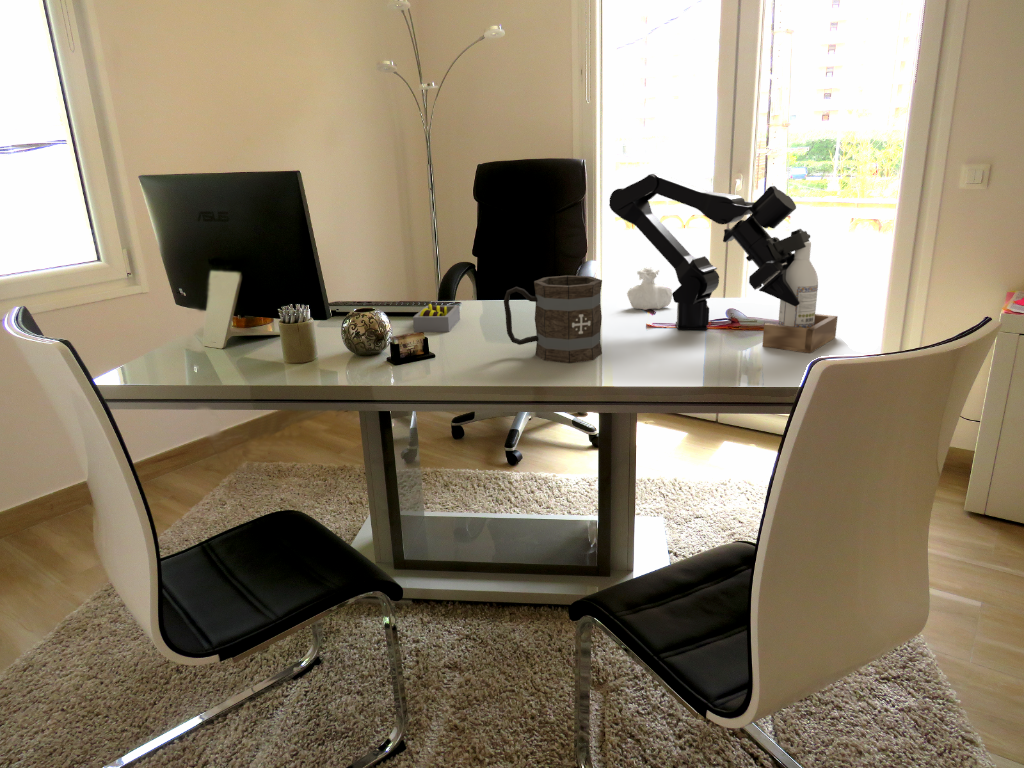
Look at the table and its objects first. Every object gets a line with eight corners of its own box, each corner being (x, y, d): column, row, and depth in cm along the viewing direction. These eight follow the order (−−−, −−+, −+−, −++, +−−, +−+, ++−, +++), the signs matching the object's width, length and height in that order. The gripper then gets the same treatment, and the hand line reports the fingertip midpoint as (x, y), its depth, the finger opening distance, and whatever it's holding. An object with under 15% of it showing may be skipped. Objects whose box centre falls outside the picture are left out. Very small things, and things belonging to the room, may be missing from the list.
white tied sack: (669, 314, 191) (661, 276, 195) (679, 301, 184) (670, 262, 188) (625, 317, 190) (618, 278, 193) (633, 303, 183) (625, 264, 186)
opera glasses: (441, 331, 172) (440, 310, 170) (419, 331, 172) (418, 310, 171) (449, 321, 181) (448, 302, 179) (429, 322, 181) (427, 302, 180)
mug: (599, 345, 154) (600, 274, 150) (604, 362, 141) (604, 286, 137) (507, 346, 155) (505, 276, 151) (503, 364, 143) (500, 288, 138)
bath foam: (818, 337, 152) (828, 241, 146) (803, 344, 147) (812, 244, 141) (786, 332, 157) (794, 239, 151) (771, 339, 152) (778, 242, 146)
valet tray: (414, 331, 171) (413, 317, 170) (427, 319, 184) (426, 305, 183) (449, 331, 170) (448, 317, 169) (460, 319, 183) (459, 305, 181)
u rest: (762, 346, 149) (764, 324, 148) (789, 331, 160) (791, 311, 159) (810, 353, 143) (812, 330, 142) (835, 337, 154) (837, 316, 153)
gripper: (769, 220, 140) (822, 282, 137) (803, 213, 154) (852, 269, 150) (727, 259, 148) (777, 318, 144) (763, 248, 161) (809, 302, 158)
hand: (805, 301), depth 149 cm, fingers open, 9 cm apart
